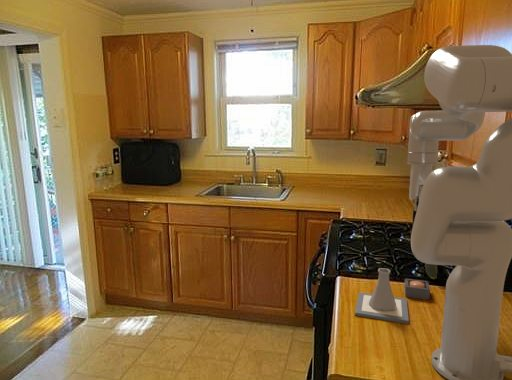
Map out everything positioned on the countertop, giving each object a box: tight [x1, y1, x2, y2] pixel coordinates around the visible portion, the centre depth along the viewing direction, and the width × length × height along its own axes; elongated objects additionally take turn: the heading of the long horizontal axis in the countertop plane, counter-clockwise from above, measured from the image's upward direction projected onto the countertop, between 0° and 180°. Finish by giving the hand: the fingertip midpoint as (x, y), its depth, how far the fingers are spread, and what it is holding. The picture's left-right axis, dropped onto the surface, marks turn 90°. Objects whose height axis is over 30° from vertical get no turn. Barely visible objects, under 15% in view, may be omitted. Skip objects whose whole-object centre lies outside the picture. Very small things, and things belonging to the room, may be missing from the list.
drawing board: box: [354, 292, 410, 325], centre depth 101 cm, size 13×13×1 cm
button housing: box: [403, 278, 431, 300], centre depth 110 cm, size 6×6×3 cm
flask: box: [369, 267, 396, 311], centre depth 100 cm, size 7×7×10 cm
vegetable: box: [424, 263, 438, 280], centre depth 120 cm, size 4×4×20 cm
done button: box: [410, 281, 425, 288], centre depth 110 cm, size 4×4×3 cm
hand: (418, 224), depth 105 cm, fingers closed
